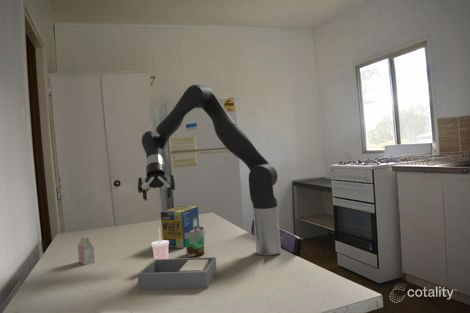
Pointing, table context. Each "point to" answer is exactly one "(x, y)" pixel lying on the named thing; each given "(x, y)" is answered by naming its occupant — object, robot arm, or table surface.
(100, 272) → the table surface
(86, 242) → the small milk carton
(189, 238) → the food container
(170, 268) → the tray
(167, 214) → the protein box
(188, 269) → the beige rectangular block
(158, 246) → the beverage cup
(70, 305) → the table surface
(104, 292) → the table surface
